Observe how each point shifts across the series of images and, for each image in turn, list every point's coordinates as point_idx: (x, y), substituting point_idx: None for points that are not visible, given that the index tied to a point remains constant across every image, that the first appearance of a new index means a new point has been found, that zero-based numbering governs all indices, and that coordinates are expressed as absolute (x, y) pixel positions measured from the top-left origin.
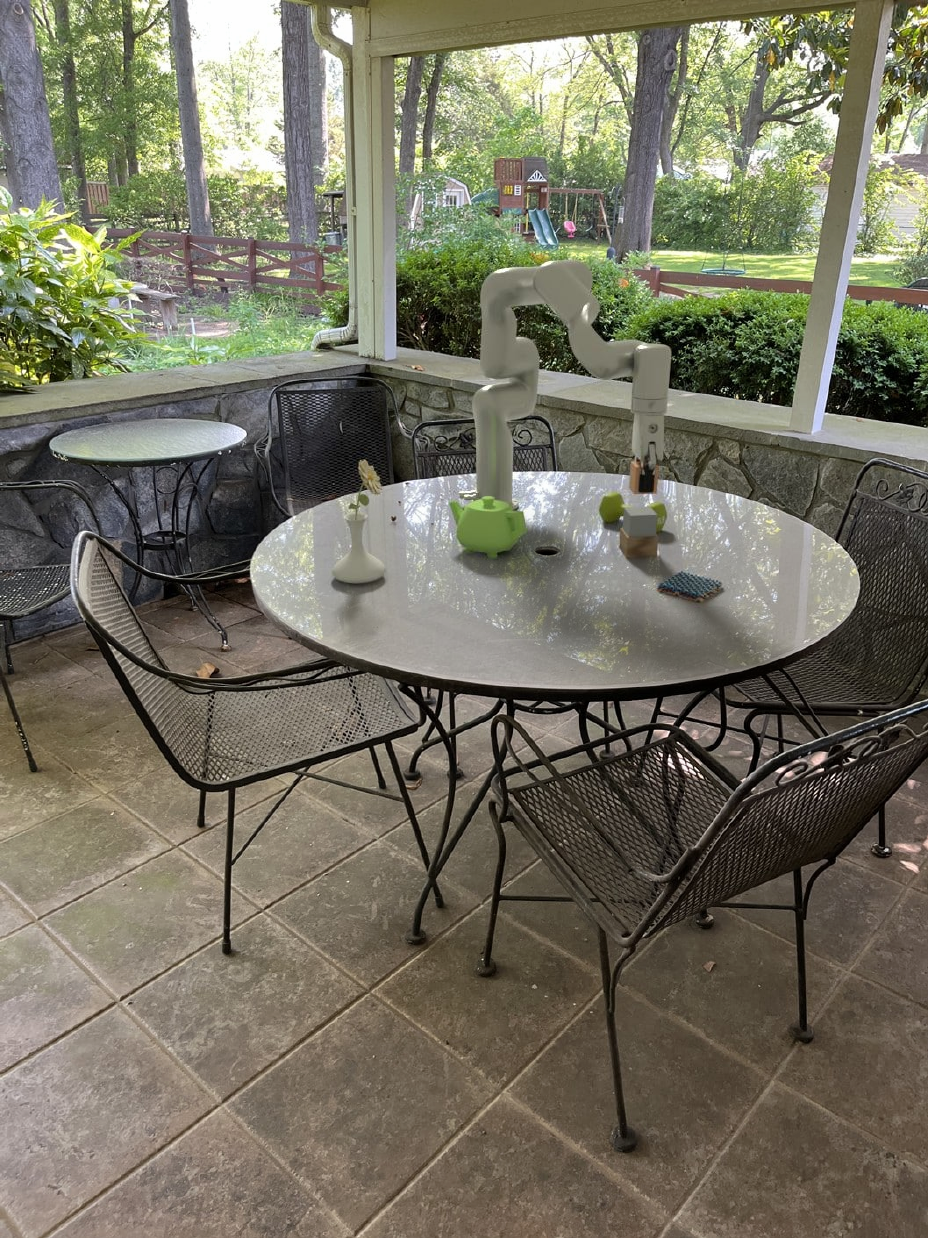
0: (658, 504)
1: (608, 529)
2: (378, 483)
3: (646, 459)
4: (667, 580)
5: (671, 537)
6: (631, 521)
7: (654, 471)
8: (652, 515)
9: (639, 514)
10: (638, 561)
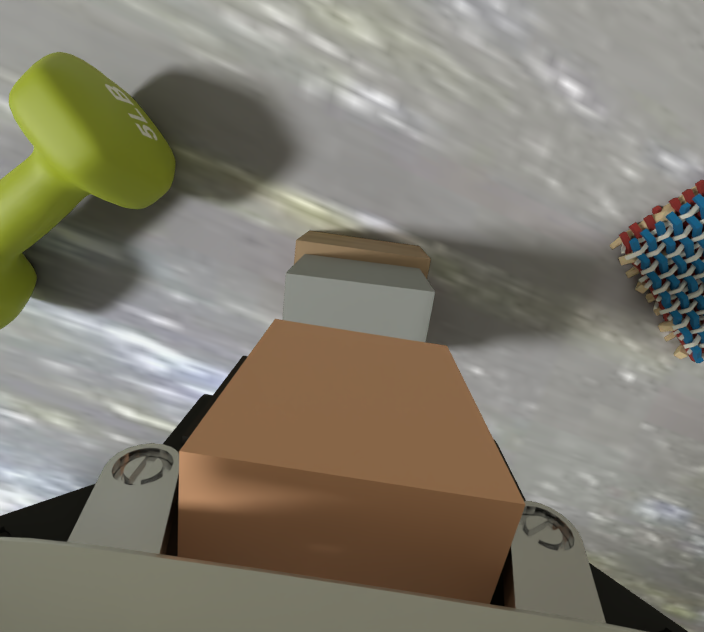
0: (67, 113)
1: (111, 304)
2: None
3: (164, 554)
4: (686, 324)
5: (220, 94)
6: None
7: (582, 552)
8: (429, 316)
9: None
10: (438, 320)
